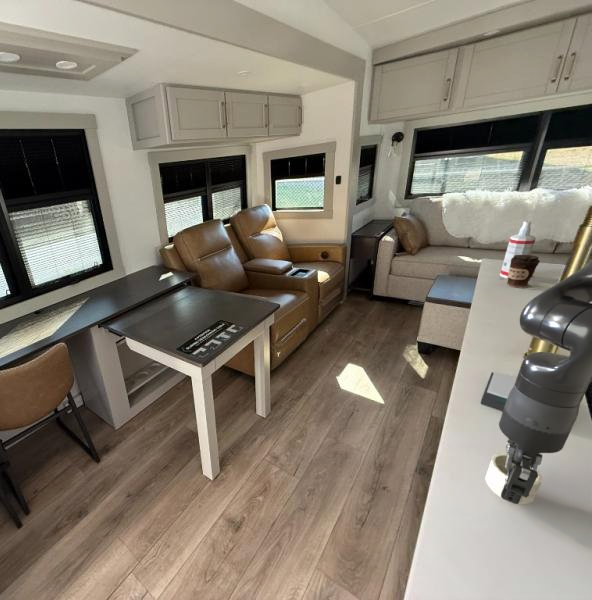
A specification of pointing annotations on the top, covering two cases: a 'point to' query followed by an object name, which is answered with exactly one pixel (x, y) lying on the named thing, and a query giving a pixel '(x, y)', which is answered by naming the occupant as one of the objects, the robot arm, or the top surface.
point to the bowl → (498, 476)
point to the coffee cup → (522, 270)
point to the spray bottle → (518, 247)
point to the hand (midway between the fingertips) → (509, 484)
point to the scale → (498, 390)
